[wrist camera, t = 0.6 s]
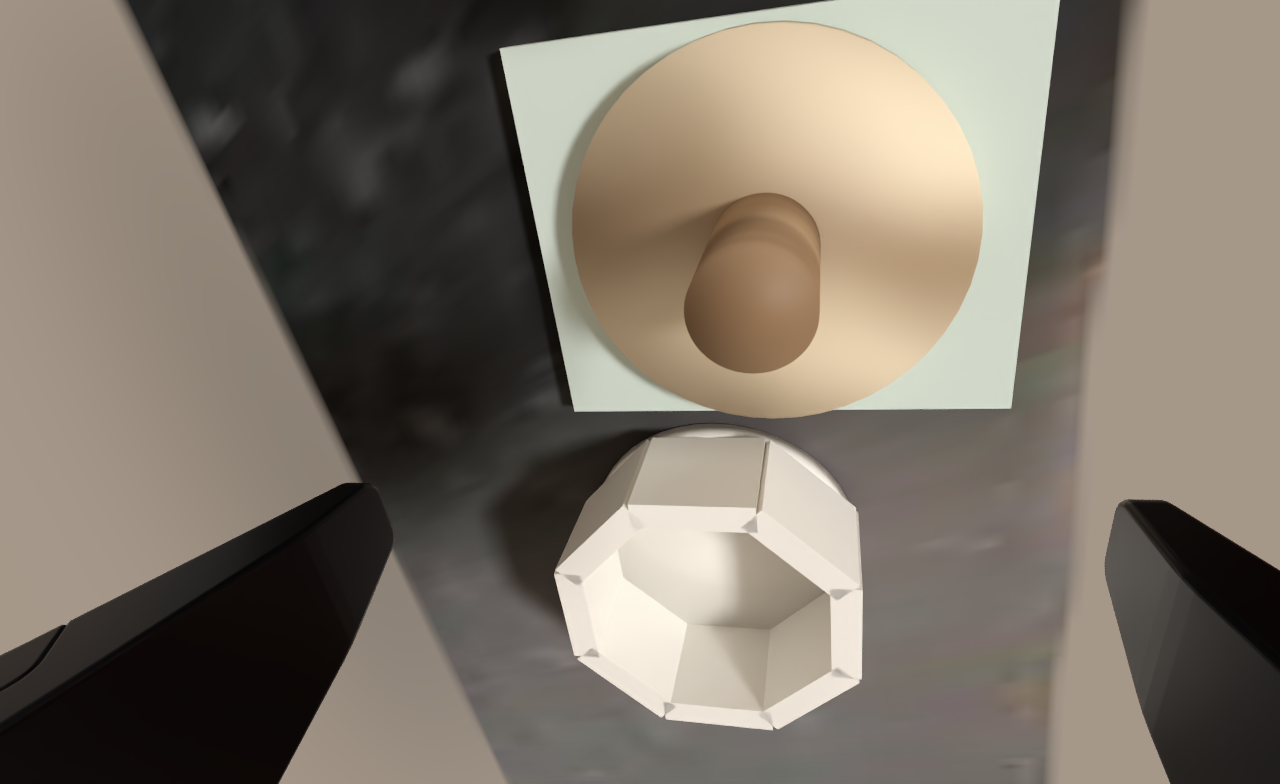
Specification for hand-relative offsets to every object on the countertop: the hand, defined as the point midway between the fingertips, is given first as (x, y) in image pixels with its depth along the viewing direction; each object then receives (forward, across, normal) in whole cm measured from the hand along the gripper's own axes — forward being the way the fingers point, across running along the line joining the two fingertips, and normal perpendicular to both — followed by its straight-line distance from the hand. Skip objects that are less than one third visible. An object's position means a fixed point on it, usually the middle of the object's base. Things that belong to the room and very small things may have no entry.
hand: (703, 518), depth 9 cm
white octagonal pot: (+12, +2, +10) cm, 15 cm away
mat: (+12, 0, 0) cm, 12 cm away
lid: (+11, 0, 0) cm, 11 cm away
